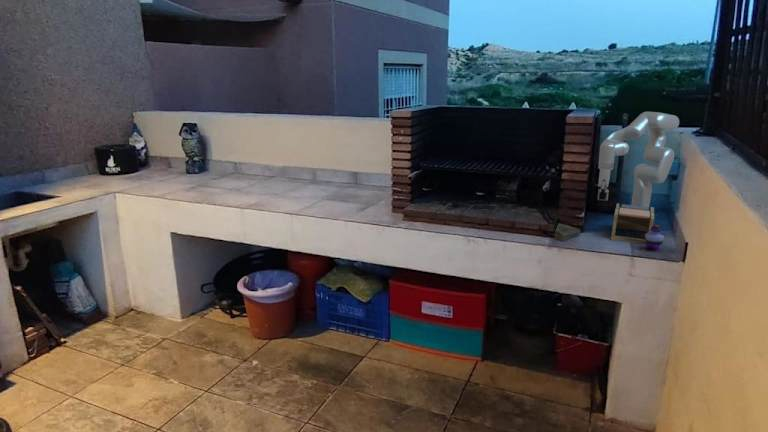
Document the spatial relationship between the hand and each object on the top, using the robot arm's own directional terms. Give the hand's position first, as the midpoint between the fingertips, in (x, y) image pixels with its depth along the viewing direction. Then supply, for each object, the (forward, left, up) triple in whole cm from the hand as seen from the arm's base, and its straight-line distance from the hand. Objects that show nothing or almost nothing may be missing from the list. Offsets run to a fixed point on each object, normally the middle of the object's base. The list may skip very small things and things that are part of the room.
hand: (602, 197), depth 276 cm
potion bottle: (+30, +26, -16) cm, 43 cm away
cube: (0, 0, -1) cm, 1 cm away
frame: (+12, +16, -16) cm, 26 cm away
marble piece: (+28, -17, -16) cm, 36 cm away
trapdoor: (+12, +16, -6) cm, 21 cm away
